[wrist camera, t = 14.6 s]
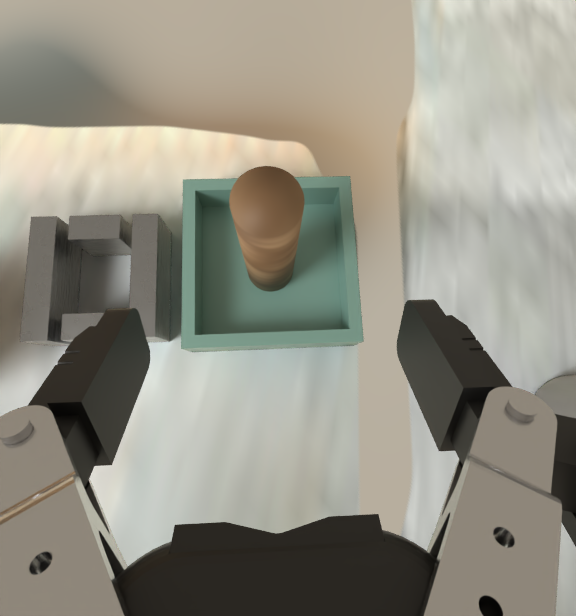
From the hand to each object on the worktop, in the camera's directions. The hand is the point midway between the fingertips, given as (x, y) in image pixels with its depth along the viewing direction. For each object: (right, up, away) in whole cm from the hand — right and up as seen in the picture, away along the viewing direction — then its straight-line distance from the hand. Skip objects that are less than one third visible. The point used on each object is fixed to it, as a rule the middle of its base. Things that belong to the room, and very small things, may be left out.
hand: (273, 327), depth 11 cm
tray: (-1, +4, +22) cm, 22 cm away
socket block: (-15, +2, +21) cm, 26 cm away
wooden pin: (-1, +4, +21) cm, 21 cm away
